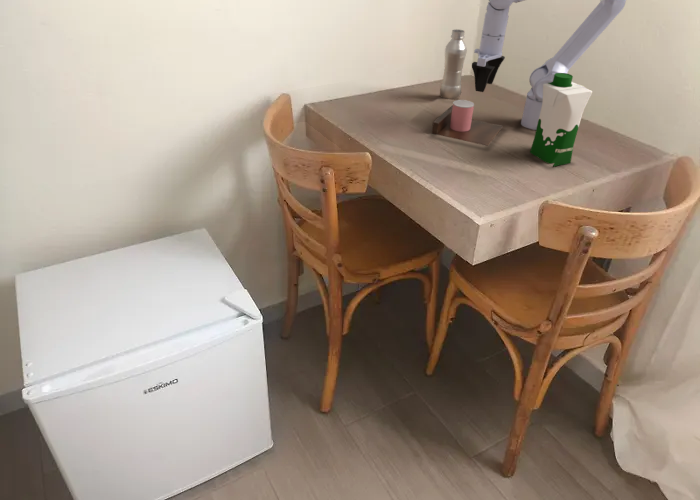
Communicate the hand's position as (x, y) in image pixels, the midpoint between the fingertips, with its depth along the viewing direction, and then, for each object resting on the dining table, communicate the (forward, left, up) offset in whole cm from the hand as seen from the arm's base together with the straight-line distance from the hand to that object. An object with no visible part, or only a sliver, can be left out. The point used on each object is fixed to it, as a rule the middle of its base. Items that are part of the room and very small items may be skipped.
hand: (483, 87), depth 144 cm
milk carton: (-22, +13, -11) cm, 28 cm away
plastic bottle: (+14, -15, -11) cm, 23 cm away
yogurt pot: (+3, +8, -9) cm, 12 cm away
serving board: (0, +8, -10) cm, 13 cm away
